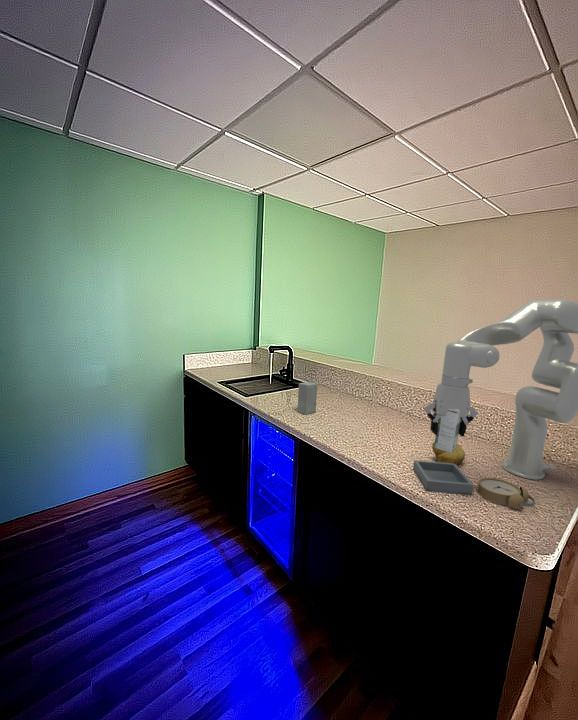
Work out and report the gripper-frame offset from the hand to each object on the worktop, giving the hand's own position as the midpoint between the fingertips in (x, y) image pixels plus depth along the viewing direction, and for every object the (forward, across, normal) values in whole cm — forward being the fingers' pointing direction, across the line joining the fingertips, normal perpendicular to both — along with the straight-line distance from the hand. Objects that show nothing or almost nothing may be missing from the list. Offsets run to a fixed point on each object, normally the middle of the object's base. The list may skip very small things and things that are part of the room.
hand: (447, 433), depth 105 cm
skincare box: (+17, +47, -62) cm, 80 cm away
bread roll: (+17, -9, -16) cm, 25 cm away
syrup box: (+5, 0, 0) cm, 5 cm away
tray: (+17, 0, 0) cm, 17 cm away
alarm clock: (+17, -17, +7) cm, 25 cm away
